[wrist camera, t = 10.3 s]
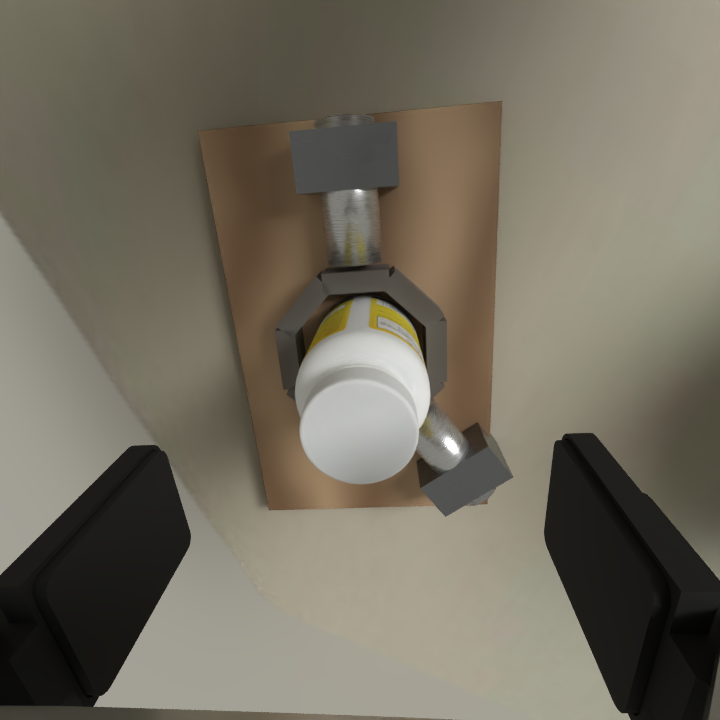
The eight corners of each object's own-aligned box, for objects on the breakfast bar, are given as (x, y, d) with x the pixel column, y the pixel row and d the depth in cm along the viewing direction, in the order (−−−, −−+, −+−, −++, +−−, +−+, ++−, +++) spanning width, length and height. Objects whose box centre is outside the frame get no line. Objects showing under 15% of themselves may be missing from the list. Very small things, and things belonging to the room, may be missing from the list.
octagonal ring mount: (496, 106, 19) (515, 89, 17) (483, 493, 27) (495, 527, 24) (206, 134, 20) (178, 123, 18) (272, 499, 28) (260, 532, 25)
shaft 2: (383, 416, 25) (383, 448, 22) (442, 375, 24) (452, 402, 21) (441, 481, 27) (449, 521, 24) (499, 445, 26) (517, 481, 22)
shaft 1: (399, 253, 22) (402, 262, 19) (317, 259, 22) (305, 269, 19) (393, 125, 20) (396, 109, 17) (303, 134, 20) (287, 120, 17)
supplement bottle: (321, 387, 24) (283, 501, 15) (314, 293, 22) (266, 357, 13) (416, 386, 24) (438, 502, 14) (418, 291, 22) (443, 355, 13)
